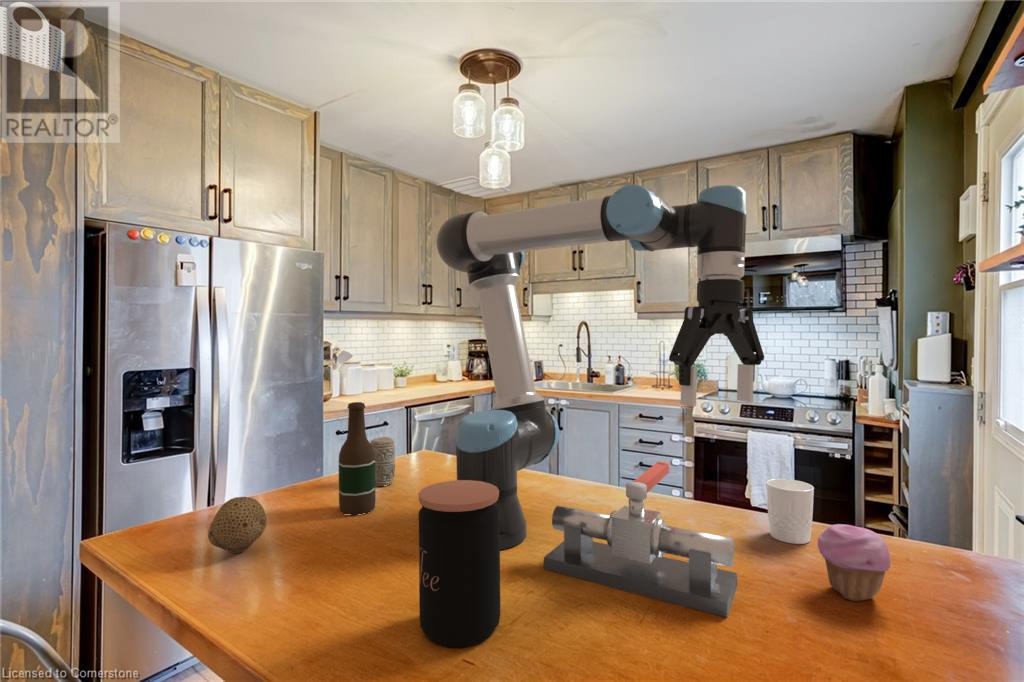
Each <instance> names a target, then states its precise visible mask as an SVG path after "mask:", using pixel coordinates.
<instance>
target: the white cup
mask: <svg viewBox="0 0 1024 682" xmlns="http://www.w3.org/2000/svg"><path fill="white" fill-rule="evenodd" d="M765 483H766V485H765V487H766V504H767V518H768V524H769V525H768V526H769V527H768V528H769V535H770V536H771V537H772V538H773V539H774V540H778V541H780V542H782V543H786V544H794V545H805V544H808V543H810V541H811V539H812V538H811V536H812V526H813V515H814V514H813V513H814V496H815V495H814V493H815V491H814V490H815V487H814V486H813V485H812V484H810V483H807V482H805V481H801V480H796V479H790V478H773V479H768V480H766V482H765Z"/></svg>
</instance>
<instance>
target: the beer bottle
mask: <svg viewBox="0 0 1024 682" xmlns="http://www.w3.org/2000/svg"><path fill="white" fill-rule="evenodd" d="M365 408H366V404H365V403H364V402H359V401H355V402H349V403H348V404H347V408H346V409H348V419H347V420H348V422H347V423H348V424H347V425H348V426H347V434H346V440H345V441H344V443H343V444H342V445H341V448H340V450H339V453H338V506H339V512H340V511H341V512H342V513H343V514H351V515H358V514H363V513H368V512H370V511H371V510H372V511H374V510H375V509H374V508H376V486H375V454H374V450H373V447H372V445H371V444H370V443H371V441H370V440H369V439H368V437H367V433H366V422H365V421H366V420H365ZM373 509H374V510H373ZM372 511H371V512H372ZM341 512H340V513H341ZM371 512H370V513H371ZM342 513H341V514H342ZM343 514H342V515H343ZM368 514H369V513H368Z"/></svg>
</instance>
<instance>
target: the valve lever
mask: <svg viewBox="0 0 1024 682" xmlns="http://www.w3.org/2000/svg"><path fill="white" fill-rule="evenodd" d="M669 473H670V463H669V462H666V461H657V462H656V463H654V464H653V465H652V466H651V467H649V468H648V469H647V470H645V472H644V473H642V474H641V475H639V476H638V477H637V478H636V479H634V480H633V481H630V482H627V483H625V496H626V498H628V499H629V498H630V499H637V500H640V499H644V500H645V499H647V498H648V496H647V495H648V493H649V492H650V491H651V490H652V489H653V488H655V487H656V486H657V485H658V484H659V482H661V481H662V479H664V478H665V477H666V476H667V475H668V474H669Z"/></svg>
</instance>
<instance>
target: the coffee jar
mask: <svg viewBox="0 0 1024 682" xmlns="http://www.w3.org/2000/svg"><path fill="white" fill-rule="evenodd" d="M498 497H499V490H498V488H497V487H496V486H494V485H492V484H490V483H486V482H482V481H473V480H457V479H455V480H447V481H441V482H440V481H439V482H436V483H433V484H429V485H427V486H425V487H423V488H422V489H421V490H420V491H419V492H418V501H419V502H418V503H419V504H420V505H421V507H420V508H419V511H418V514H417V515H418V580H419V581H418V583H419V584H418V587H419V591H418V592H419V593H418V594H419V597H418V599H419V627H420V629H421V631H422V632H423V633H424V634H425V636H426V637H427V639H428V640H429V641H430V642H431V643H433V644H435V645H436V646H439V647H443V648H444V647H445V648H447V649H462V648H463V649H464V648H470V647H474V646H476V645H479V644H482V643H483V642H484V641H486V640H488V639H489V638H490V637H492V634H493V633H494V632H495V630H496V629H497V627H498V626H499V624H500V621H501V620H500V619H501V550H500V512H499V507H498V506H497V504H496V501H497V500H498Z"/></svg>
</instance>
